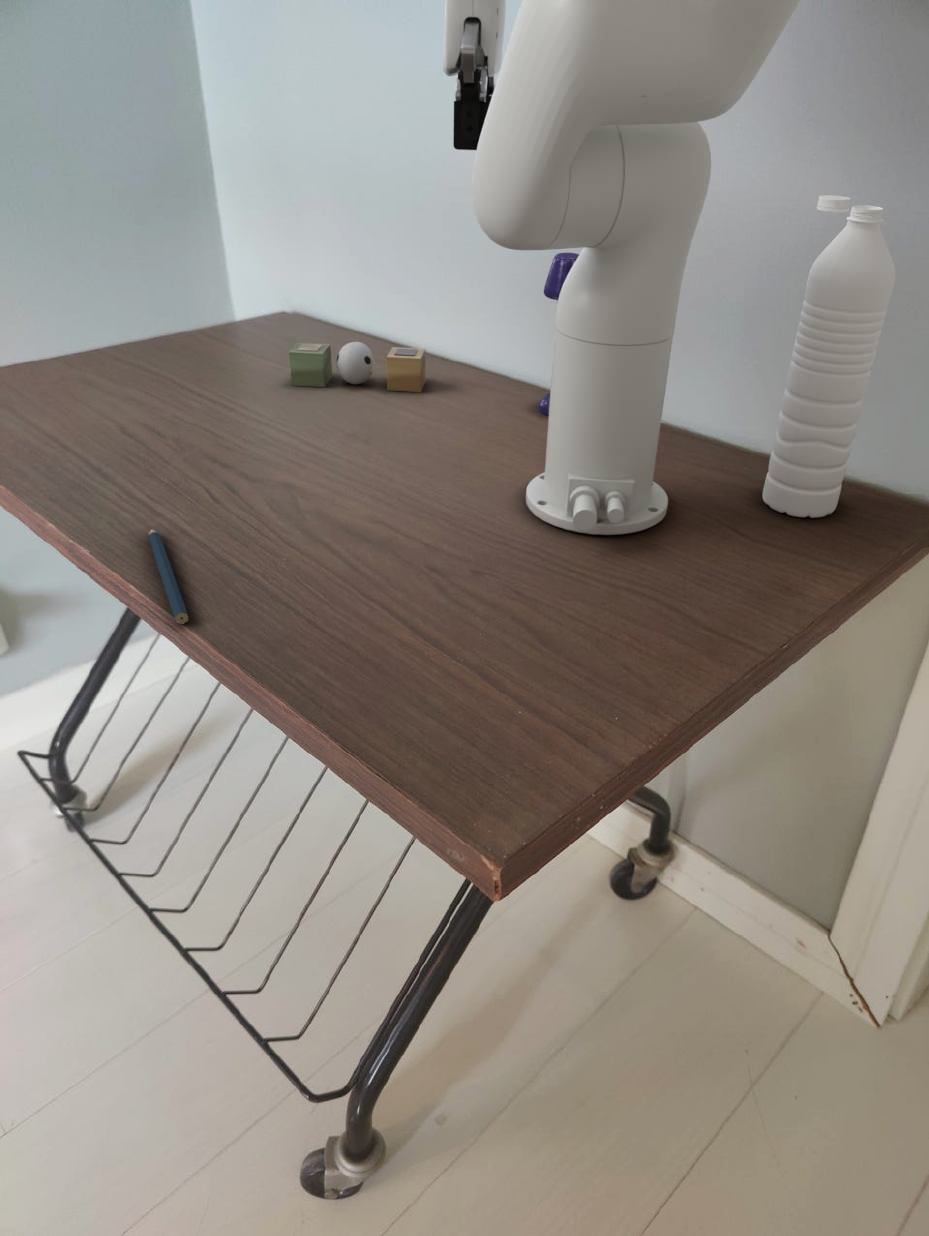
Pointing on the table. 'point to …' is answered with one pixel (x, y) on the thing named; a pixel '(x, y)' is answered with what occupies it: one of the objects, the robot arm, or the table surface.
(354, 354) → the figurine
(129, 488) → the table surface
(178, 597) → the pencil
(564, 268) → the toy lamp
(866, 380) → the water bottle
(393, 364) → the block row
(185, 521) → the table surface
